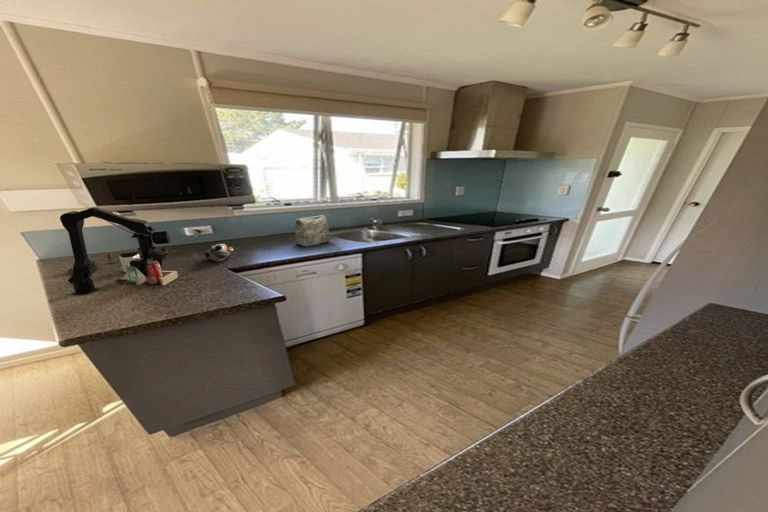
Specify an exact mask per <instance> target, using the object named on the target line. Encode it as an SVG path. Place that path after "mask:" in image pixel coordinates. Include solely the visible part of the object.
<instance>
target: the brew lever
mask: <svg viewBox="0 0 768 512" xmlns="http://www.w3.org/2000/svg"><path fill="white" fill-rule="evenodd" d="M133 270H134V268H133V266H130V270H129V271H128V272H127V273H126V272H125V274H124V275H123V276H122V277H121V278H116V279H115V282H117V283H119V282H127V281H128V279H126V278H127V277H128V275H129V274H130V273H131V272H132V271H133Z"/></svg>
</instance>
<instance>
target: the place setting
mask: <svg viewBox="0 0 768 512" xmlns="http://www.w3.org/2000/svg"><path fill="white" fill-rule="evenodd" d="M106 257H107V259H109V262H108V264H109V265H112V264H115V263H116V262H115V261H113V260H112V259H113V254H112V253H107V254H106ZM73 265H74V263H72V266H73ZM95 267H96V269H97V268H98V265H97V263H95ZM67 273H69V274H71V275H73V267H71V268H69V269H68V270H67Z"/></svg>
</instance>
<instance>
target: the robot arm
mask: <svg viewBox="0 0 768 512" xmlns="http://www.w3.org/2000/svg"><path fill="white" fill-rule="evenodd" d="M92 217H93V218H97V219H100V220H102V221H107V222H109V223H113V224H115V225H116V224H117V225H119V226H123V227H125V228H127V229H128V230H129V231H132V232H133V235H131V236H130V238H131V239H136V240H137V243H138V247H137V248H136V250H137V251H139V252H140V254H139V255H140V256H139V257H140V259H133V260H131V261H130V262H129V264H130V266H133V267H135V268H137V269H138V270H139V271H140V272H141V273H142V274H143V275H144V276H148V273H147V268H146V267H147V265H148V264H147V261H149V260H157V262H158V263H159V264H160V267H161V268H162V266H163V260H164V259H166V258H167V256H168V255H169V249H168V248H167V247H163V248H157V246H156V245H164V244H165V245H166V244H170V243H171V236H170V234H169V233H168V230H156V229H155V228H154V227H152V226H151V225H150V223H149V222H148V221H147V220H144V219H139V218H132V217H131V218H130V217H127V216H123V215H120V214H118V213H117V214H116V213H114V212H111V211H107V210H105V209H101V208H99V207H97V206H92V207H89V208H87V209H84V210H80V211H77V210H71V211H68V212H64V213H62V214H61V215H60V216H59V220H60V222H61V224H62V227H63V228H64V229H65V230H66V231H67V233H68V238H69V242H70V246H71V250H72V254H73V259H74V262H73V264H74V265H73V264H72V268H73V274H72V275H71V276H70V278H68V279H67V282H68V283H70V285H72V286H73V287H72V288H73V290H74V292H72V295H86V294H90V293H91V292H93V291H95V290H98V287H95V285H94V284H95V283H94V281H93V279H92V278H91V277H92V275H93V274H94V273H95V272H96V269H97V268H96V267H95V264H96V261H95V260H91V259H89V256H88V252H87V246H86V243H85V238H84V232H83V229H84V226H85V219H86V220H87V219H89V218H92ZM154 244H155V245H154Z"/></svg>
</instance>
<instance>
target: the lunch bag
mask: <svg viewBox="0 0 768 512" xmlns="http://www.w3.org/2000/svg"><path fill="white" fill-rule="evenodd" d="M294 234H295V243H296V244H297V245H299V246H301V247H306V248H308V247H313V246H318V245H322V244H325V243H329V242H330V229H329V224H328V220H327V216H326V215H324V214H319V215H314V216H308V217H298V218H296V219H295V233H294Z"/></svg>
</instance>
